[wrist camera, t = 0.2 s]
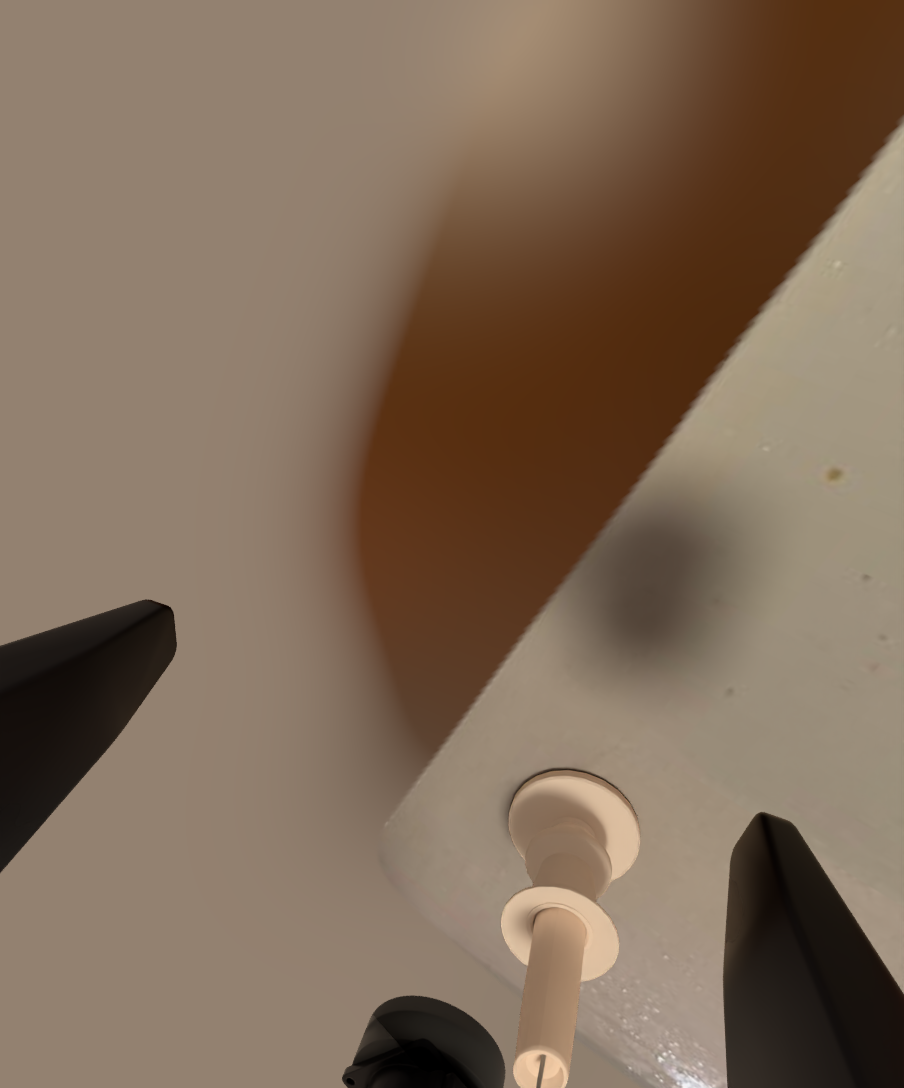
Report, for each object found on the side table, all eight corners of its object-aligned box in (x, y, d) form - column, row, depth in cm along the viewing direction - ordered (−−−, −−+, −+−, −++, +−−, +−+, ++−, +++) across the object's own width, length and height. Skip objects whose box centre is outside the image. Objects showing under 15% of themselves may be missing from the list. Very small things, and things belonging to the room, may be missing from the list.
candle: (567, 744, 25) (524, 987, 16) (668, 833, 25) (689, 1131, 16) (485, 816, 27) (402, 1070, 18) (578, 898, 27) (547, 1199, 18)
